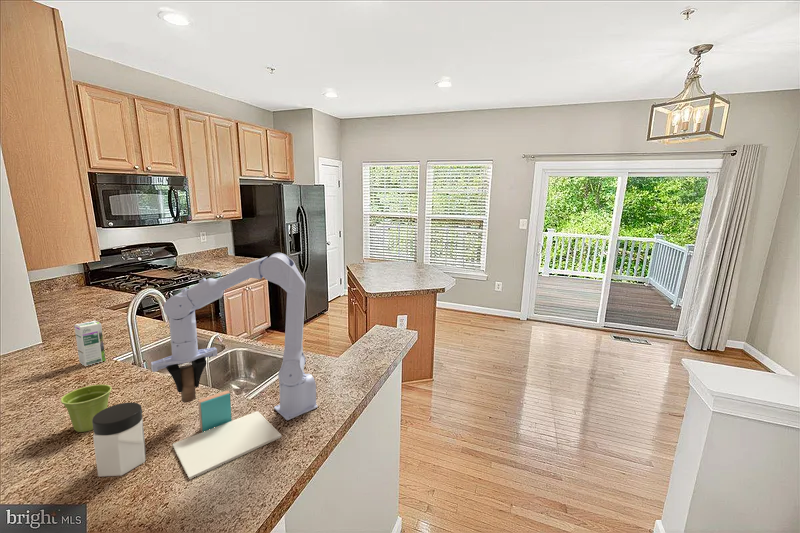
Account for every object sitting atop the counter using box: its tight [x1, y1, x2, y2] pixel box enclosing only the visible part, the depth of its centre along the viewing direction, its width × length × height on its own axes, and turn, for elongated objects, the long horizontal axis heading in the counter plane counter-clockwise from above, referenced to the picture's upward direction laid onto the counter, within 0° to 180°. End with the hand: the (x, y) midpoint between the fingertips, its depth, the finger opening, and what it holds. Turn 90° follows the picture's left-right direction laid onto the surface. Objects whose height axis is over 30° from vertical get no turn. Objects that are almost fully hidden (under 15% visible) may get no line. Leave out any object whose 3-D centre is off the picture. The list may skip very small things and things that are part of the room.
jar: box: [92, 402, 147, 478], centre depth 73 cm, size 9×8×12 cm
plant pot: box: [60, 384, 113, 433], centre depth 86 cm, size 9×9×9 cm
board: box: [172, 410, 282, 480], centre depth 82 cm, size 20×14×1 cm
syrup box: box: [74, 320, 107, 367], centre depth 120 cm, size 6×6×14 cm
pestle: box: [179, 364, 197, 404], centre depth 90 cm, size 3×3×9 cm
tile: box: [197, 390, 233, 432], centre depth 88 cm, size 7×2×8 cm, turn 135°
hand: (188, 388), depth 90 cm, fingers closed on pestle, 3 cm apart
